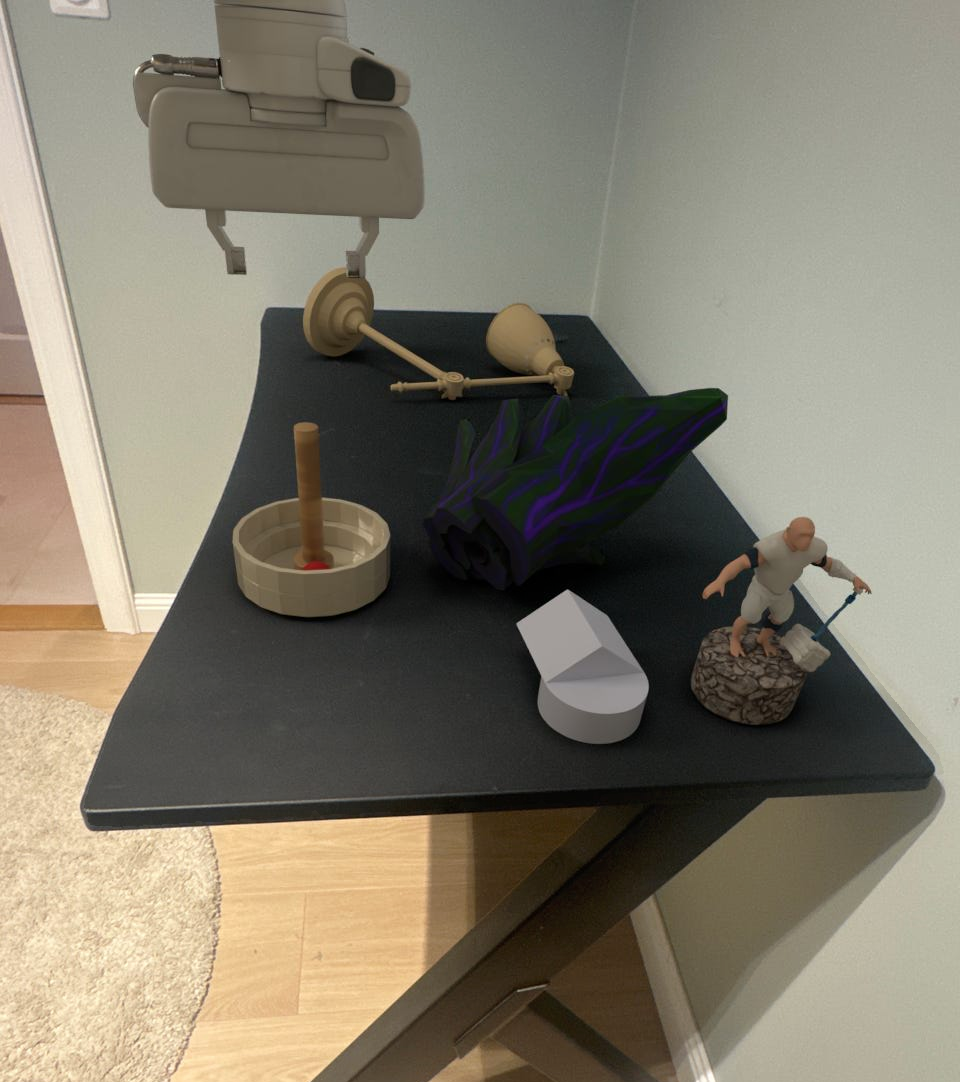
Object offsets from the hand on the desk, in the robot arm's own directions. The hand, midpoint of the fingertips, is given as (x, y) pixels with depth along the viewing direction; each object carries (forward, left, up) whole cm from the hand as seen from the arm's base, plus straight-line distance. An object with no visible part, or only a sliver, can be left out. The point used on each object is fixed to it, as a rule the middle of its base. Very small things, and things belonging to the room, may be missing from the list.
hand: (297, 275), depth 63 cm
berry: (0, -4, -27) cm, 27 cm away
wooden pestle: (0, 0, -28) cm, 29 cm away
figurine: (+37, -24, -29) cm, 53 cm away
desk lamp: (+26, +63, -29) cm, 74 cm away
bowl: (0, 0, -29) cm, 29 cm away
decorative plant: (+25, +3, -29) cm, 39 cm away
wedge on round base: (+22, -21, -29) cm, 42 cm away
